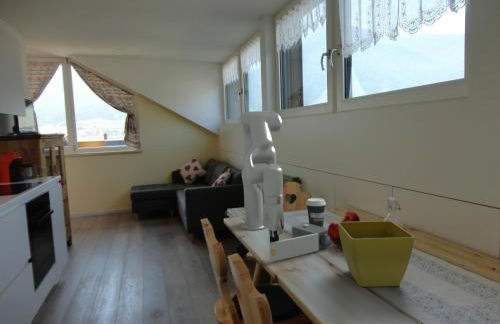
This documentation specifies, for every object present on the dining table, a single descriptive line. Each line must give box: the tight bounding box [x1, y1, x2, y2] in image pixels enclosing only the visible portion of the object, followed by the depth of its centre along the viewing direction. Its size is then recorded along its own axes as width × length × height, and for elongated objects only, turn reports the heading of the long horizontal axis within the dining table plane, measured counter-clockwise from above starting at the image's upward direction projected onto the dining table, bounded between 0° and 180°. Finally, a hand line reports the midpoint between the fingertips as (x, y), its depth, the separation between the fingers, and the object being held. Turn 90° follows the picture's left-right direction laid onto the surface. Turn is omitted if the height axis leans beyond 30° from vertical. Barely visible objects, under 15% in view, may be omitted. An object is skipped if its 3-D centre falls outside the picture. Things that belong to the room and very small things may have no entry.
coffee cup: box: [305, 197, 327, 227], centre depth 165 cm, size 10×10×15 cm
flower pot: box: [337, 220, 415, 288], centre depth 110 cm, size 19×19×17 cm
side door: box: [268, 233, 319, 263], centre depth 131 cm, size 22×2×7 cm, turn 116°
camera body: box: [291, 222, 332, 250], centre depth 145 cm, size 16×9×8 cm, turn 38°
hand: (274, 245), depth 130 cm, fingers closed
